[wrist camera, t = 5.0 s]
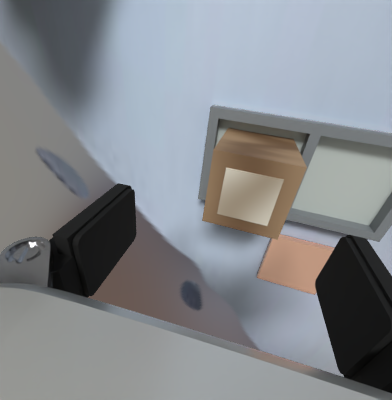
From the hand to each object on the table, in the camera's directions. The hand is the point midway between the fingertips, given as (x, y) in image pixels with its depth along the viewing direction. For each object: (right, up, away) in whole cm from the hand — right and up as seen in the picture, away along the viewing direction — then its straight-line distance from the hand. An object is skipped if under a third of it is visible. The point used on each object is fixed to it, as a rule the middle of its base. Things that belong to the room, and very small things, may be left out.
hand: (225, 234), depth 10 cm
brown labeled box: (+3, +5, +8) cm, 10 cm away
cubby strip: (+7, +4, +8) cm, 11 cm away
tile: (+9, -5, +12) cm, 16 cm away
